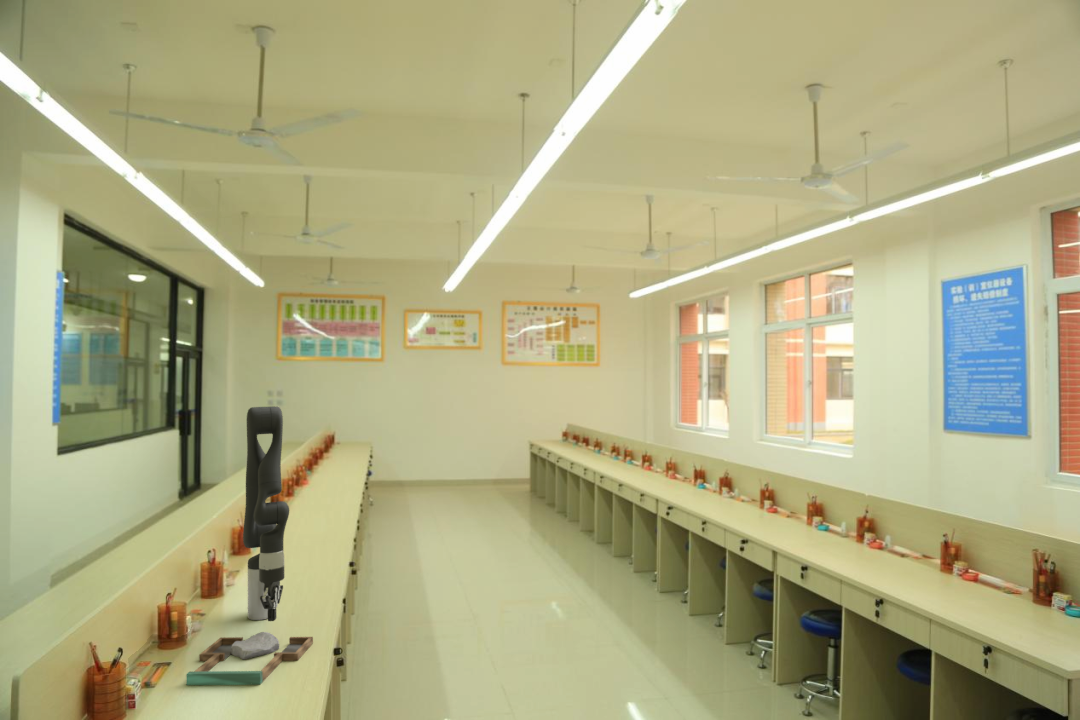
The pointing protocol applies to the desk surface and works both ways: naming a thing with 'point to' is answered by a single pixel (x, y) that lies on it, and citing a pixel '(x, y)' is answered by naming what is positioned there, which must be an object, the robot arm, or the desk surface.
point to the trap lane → (222, 651)
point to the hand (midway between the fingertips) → (272, 620)
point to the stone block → (255, 646)
